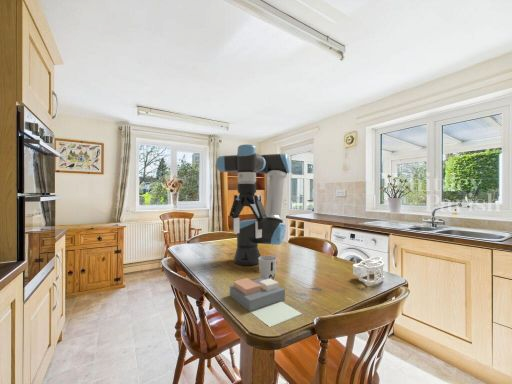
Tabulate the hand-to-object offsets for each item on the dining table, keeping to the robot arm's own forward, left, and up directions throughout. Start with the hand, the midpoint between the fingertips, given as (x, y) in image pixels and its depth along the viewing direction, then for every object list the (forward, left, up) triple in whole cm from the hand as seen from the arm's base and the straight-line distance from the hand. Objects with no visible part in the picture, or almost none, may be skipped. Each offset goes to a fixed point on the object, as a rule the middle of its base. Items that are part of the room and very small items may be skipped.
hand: (247, 235), depth 96 cm
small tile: (+12, +2, -18) cm, 21 cm away
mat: (+22, -3, -22) cm, 31 cm away
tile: (+8, -5, -18) cm, 20 cm away
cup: (-2, +12, -22) cm, 25 cm away
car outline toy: (+21, +54, -22) cm, 62 cm away
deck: (+10, -2, -22) cm, 24 cm away
